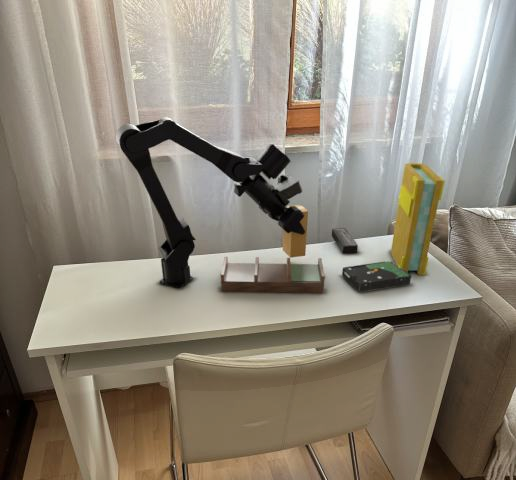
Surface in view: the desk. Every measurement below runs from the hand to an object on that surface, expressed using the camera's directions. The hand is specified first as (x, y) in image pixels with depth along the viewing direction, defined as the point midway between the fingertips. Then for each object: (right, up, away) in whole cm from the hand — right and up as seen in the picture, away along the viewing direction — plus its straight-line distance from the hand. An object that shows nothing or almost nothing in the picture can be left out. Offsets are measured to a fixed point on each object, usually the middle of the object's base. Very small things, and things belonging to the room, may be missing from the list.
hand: (299, 229), depth 135 cm
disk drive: (+20, -15, -4) cm, 25 cm away
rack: (-8, -15, -5) cm, 18 cm away
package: (-1, -6, +3) cm, 7 cm away
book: (+31, -8, +6) cm, 32 cm away
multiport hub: (+15, -1, +17) cm, 23 cm away
